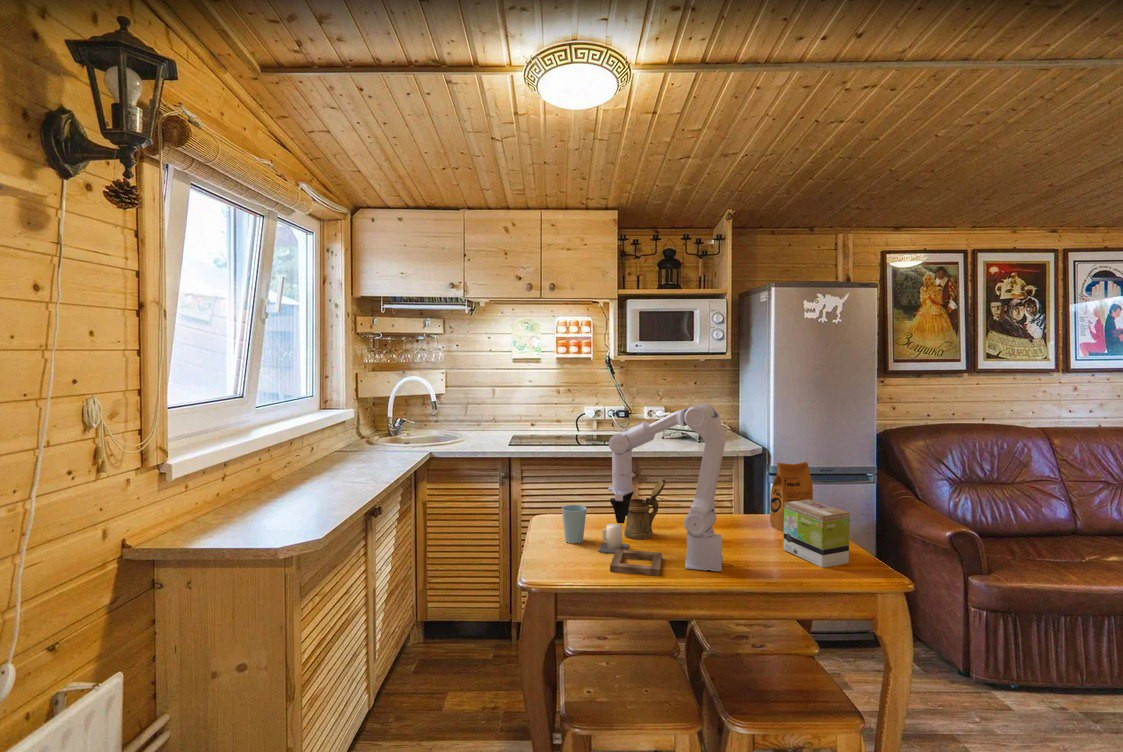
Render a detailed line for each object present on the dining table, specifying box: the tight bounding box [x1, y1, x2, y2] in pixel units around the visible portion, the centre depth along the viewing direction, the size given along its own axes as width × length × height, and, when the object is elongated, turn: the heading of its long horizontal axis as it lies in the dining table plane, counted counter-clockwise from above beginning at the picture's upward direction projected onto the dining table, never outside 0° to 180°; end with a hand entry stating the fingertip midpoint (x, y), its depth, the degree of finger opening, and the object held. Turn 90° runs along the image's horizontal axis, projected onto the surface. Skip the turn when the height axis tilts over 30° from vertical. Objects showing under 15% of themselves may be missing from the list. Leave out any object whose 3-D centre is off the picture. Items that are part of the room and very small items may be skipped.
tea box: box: [783, 499, 851, 569], centre depth 157 cm, size 15×10×15 cm
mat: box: [597, 541, 630, 555], centre depth 164 cm, size 8×8×1 cm
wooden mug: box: [623, 478, 666, 540], centre depth 177 cm, size 9×14×18 cm, turn 95°
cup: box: [561, 504, 587, 544], centre depth 172 cm, size 8×8×10 cm
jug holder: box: [609, 549, 663, 577], centre depth 152 cm, size 13×13×2 cm
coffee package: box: [769, 461, 814, 532], centre depth 185 cm, size 10×12×22 cm
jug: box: [601, 523, 623, 550], centre depth 165 cm, size 6×5×6 cm
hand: (622, 519), depth 163 cm, fingers open, 7 cm apart
